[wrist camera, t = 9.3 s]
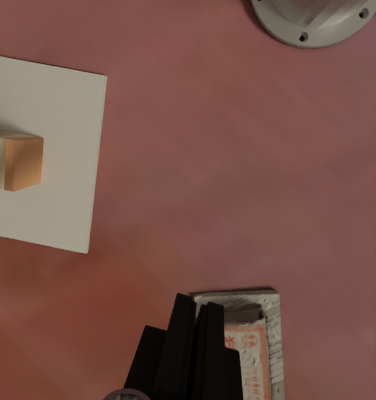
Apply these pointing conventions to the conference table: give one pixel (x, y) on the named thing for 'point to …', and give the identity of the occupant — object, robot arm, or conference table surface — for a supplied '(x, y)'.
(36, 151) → the maple block
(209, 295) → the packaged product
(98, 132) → the mat
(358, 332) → the conference table surface
